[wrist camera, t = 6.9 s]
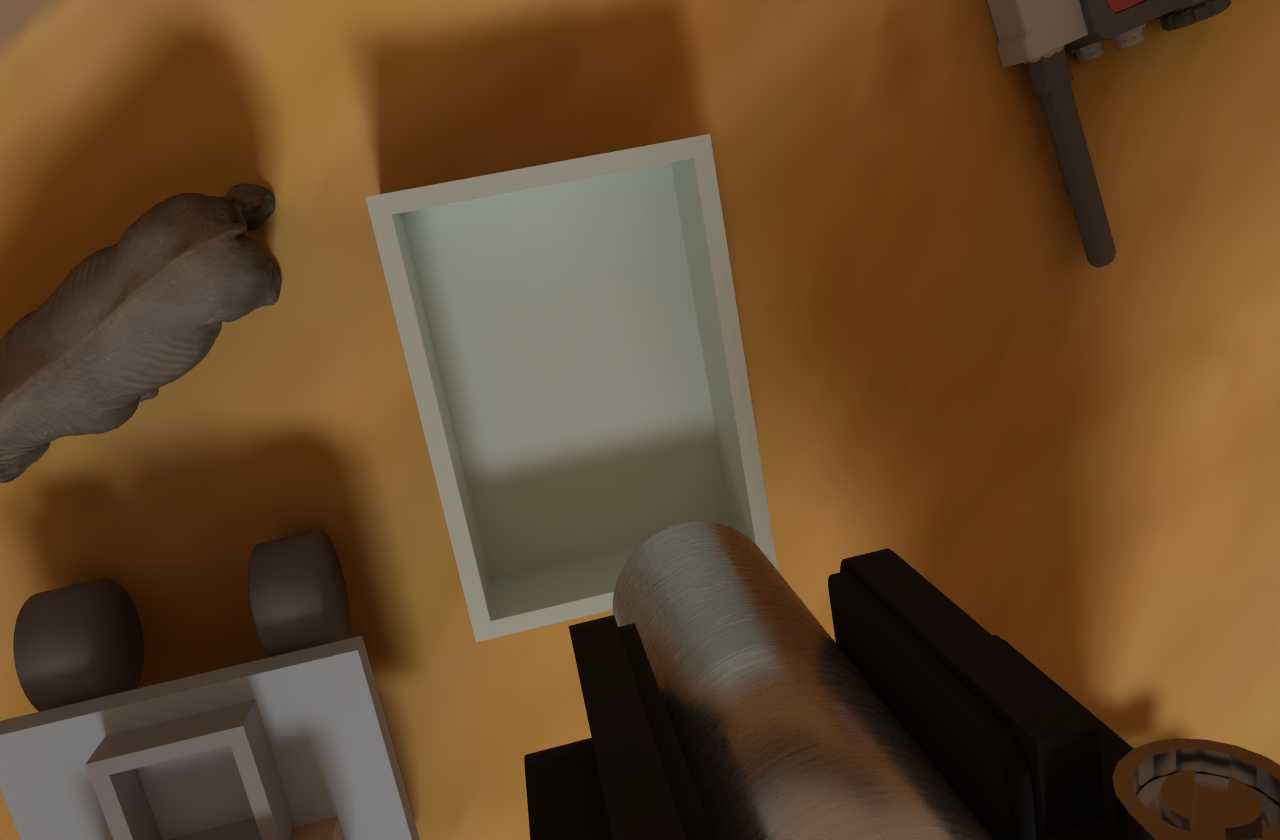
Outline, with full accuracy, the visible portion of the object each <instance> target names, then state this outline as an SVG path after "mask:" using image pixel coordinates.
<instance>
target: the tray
mask: <svg viewBox="0 0 1280 840" xmlns="http://www.w3.org/2000/svg"><path fill="white" fill-rule="evenodd" d="M365 198H366V202H367V206H368V210H369V214H370V218H371V222H372V226H373V230H374V234H375V238H376V242H377V246H378V250H379V254H380V258H381V262H382V266H383V270H384V274H385V278H386V282H387V286H388V290H389V294H390V298H391V302H392V306H393V310H394V314H395V318H396V322H397V326H398V330H399V334H400V338H401V342H402V346H403V350H404V354H405V358H406V363H407V367H408V371H409V375H410V379H411V383H412V387H413V391H414V395H415V399H416V403H417V407H418V411H419V415H420V419H421V423H422V427H423V431H424V435H425V439H426V443H427V447H428V451H429V455H430V459H431V463H432V467H433V471H434V475H435V479H436V483H437V487H438V491H439V495H440V499H441V503H442V507H443V511H444V515H445V519H446V523H447V527H448V531H449V535H450V539H451V543H452V547H453V551H454V555H455V559H456V563H457V568H458V572H459V576H460V580H461V584H462V588H463V592H464V596H465V600H466V604H467V608H468V612H469V616H470V620H471V624H472V628H473V632H474V636H475V640H476V642H480V641H484V640H488V639H492V638H496V637H500V636H505V635H509V634H513V633H517V632H521V631H525V630H530V629H534V628H538V627H542V626H546V625H550V624H554V623H559V622H563V621H567V620H571V619H575V618H579V617H584V616H588V615H592V614H596V613H600V612H604V611H608V610H613V596H614V589H615V586H616V582H617V579H618V577H619V574H620V572H621V570H622V568H623V567H624V565H625V563H626V562H627V560H628V559H629V557H630V556H631V555H632V554H633V552H634V551H635V550H636V549H637V548H638V547H639V546H640V545H641V544H642V543H644V542H645V541H646V540H648V539H649V538H650V537H652V536H653V535H655V534H657V533H659V532H660V531H662V530H665V529H667V528H669V527H672V526H675V525H679V524H683V523H689V522H714V523H718V524H723V525H726V526H729V527H731V528H734V529H736V530H738V531H740V532H741V533H743V534H744V535H746V536H747V537H749V538H750V539H751V540H752V541H753V542H754V543H755V544H756V545H757V546H758V547H759V548H760V549H761V551H762V552H763V553H764V554H765V556H766V557H767V558H768V559H769V561H770V562H771V563H772V564H773V566H774V567H775V568H776V569H777V570H778V568H777V562H776V555H775V549H774V543H773V536H772V530H771V523H770V517H769V510H768V504H767V498H766V491H765V485H764V478H763V472H762V465H761V459H760V452H759V446H758V440H757V433H756V427H755V420H754V414H753V407H752V401H751V395H750V388H749V382H748V375H747V369H746V362H745V356H744V349H743V343H742V337H741V330H740V324H739V317H738V311H737V304H736V298H735V291H734V285H733V279H732V272H731V266H730V259H729V253H728V246H727V240H726V234H725V227H724V221H723V214H722V208H721V201H720V195H719V188H718V182H717V176H716V169H715V163H714V156H713V150H712V143H711V137H710V134H707V135H701V136H696V137H690V138H685V139H679V140H674V141H669V142H663V143H658V144H652V145H647V146H641V147H636V148H630V149H625V150H619V151H614V152H609V153H603V154H598V155H592V156H587V157H581V158H576V159H570V160H565V161H559V162H554V163H549V164H543V165H538V166H532V167H527V168H521V169H516V170H510V171H505V172H500V173H494V174H489V175H483V176H478V177H472V178H467V179H461V180H456V181H450V182H445V183H440V184H434V185H429V186H423V187H418V188H412V189H407V190H401V191H396V192H391V193H385V194H380V195H374V196H369V197H365Z"/></svg>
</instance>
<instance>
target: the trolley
mask: <svg viewBox="0 0 1280 840" xmlns="http://www.w3.org/2000/svg"><path fill="white" fill-rule="evenodd" d="M248 581H249V595H250V602H251V608H252V613H253V618H254V622H255V625H256V629H257V632H258V635H259V638H260V640H261V643H262V645H263V647H264V649H265V651H266V652H267V654H268V655H269V658H265V659H261V660H256V661H252V662H248V663H244V664H240V665H235V666H231V667H227V668H223V669H218V670H214V671H210V672H206V673H201V674H197V675H193V676H189V677H185V678H180V679H176V680H172V681H168V682H163V683H159V684H155V685H151V686H147V687H142V688H138V689H137V687H138V685H139V682H140V679H141V675H142V670H143V660H144V648H143V637H142V631H141V626H140V622H139V618H138V615H137V612H136V610H135V607H134V605H133V603H132V601H131V599H130V597H129V595H128V594H127V592H126V591H125V590H124V589H123V587H122V586H121V585H120V584H118V583H117V582H116V581H114V580H111V579H107V578H105V579H99V580H95V581H91V582H86V583H82V584H77V585H73V586H68V587H64V588H59V589H55V590H50V591H46V592H41V593H37V594H35V595H33V596H31V597H30V598H29V599H28V600H27V601H26V602H25V603H24V605H23V606H22V608H21V610H20V612H19V615H18V617H17V621H16V625H15V631H14V642H13V645H14V660H15V666H16V671H17V675H18V678H19V681H20V684H21V686H22V689H23V691H24V693H25V695H26V697H27V698H28V700H29V701H30V703H31V704H32V705H33V706H34V707H35V708H36V709H37V710H38V711H39V712H37V713H32V714H28V715H24V716H20V717H15V718H11V719H7V720H3V721H0V789H1V792H2V794H3V797H4V799H5V802H6V804H7V807H8V809H9V811H10V814H11V816H12V819H13V821H14V824H15V826H16V829H17V831H18V833H19V836H20V838H21V840H420V839H419V836H418V832H417V828H416V825H415V821H414V818H413V814H412V811H411V807H410V804H409V800H408V797H407V793H406V790H405V786H404V782H403V779H402V775H401V772H400V768H399V765H398V761H397V758H396V754H395V751H394V747H393V743H392V740H391V736H390V733H389V729H388V726H387V722H386V719H385V715H384V712H383V708H382V704H381V701H380V697H379V694H378V690H377V687H376V683H375V680H374V676H373V673H372V669H371V666H370V662H369V658H368V655H367V651H366V648H365V644H364V641H363V637H362V636H358V637H354V638H349V607H348V598H347V592H346V586H345V581H344V577H343V573H342V569H341V565H340V562H339V559H338V556H337V553H336V551H335V548H334V546H333V544H332V542H331V540H330V538H329V537H328V535H327V534H326V533H325V532H324V531H322V530H320V531H315V532H311V533H306V534H302V535H297V536H293V537H288V538H284V539H279V540H275V541H270V542H266V543H261V544H258V545H256V546H255V547H254V549H253V551H252V553H251V557H250V562H249V573H248ZM348 638H349V639H348Z"/></svg>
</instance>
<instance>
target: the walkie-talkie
mask: <svg viewBox="0 0 1280 840" xmlns="http://www.w3.org/2000/svg"><path fill="white" fill-rule="evenodd" d="M987 2H988V5H989V9H990V12H991V15H992V19H993V22H994V26H995V29H996V33H997V36H998V40H999V41H998V45H997V51H998V54H999V58H1000V61H1001V64H1002V67H1003V68H1005V67H1008V66H1012V65H1016V64H1020V63H1023V62H1024V64H1025V67H1026V71H1027V74H1028V78H1029V81H1030V85H1031V88H1032V92H1033V94H1034V95H1036V96H1039V98H1040V101H1041V105H1042V109H1043V112H1044V116H1045V119H1046V123H1047V126H1048V130H1049V134H1050V137H1051V141H1052V144H1053V148H1054V151H1055V155H1056V158H1057V162H1058V166H1059V169H1060V173H1061V176H1062V180H1063V183H1064V187H1065V191H1066V194H1067V197H1068V198H1069V199H1070V201H1071V204H1072V208H1073V211H1074V214H1075V218H1076V221H1077V225H1078V228H1079V232H1080V235H1081V238H1082V242H1083V245H1084V249H1085V252H1086V255H1087V259H1088V262H1089V263H1090V264H1091V265H1092V266H1094V267H1103V266H1106V265H1108V264H1109V263H1111V262H1112V261H1113V259H1114V257H1115V253H1116V250H1115V246H1114V242H1113V239H1112V235H1111V231H1110V228H1109V224H1108V221H1107V217H1106V213H1105V210H1104V206H1103V202H1102V199H1101V195H1100V192H1099V188H1098V184H1097V181H1096V177H1095V173H1094V170H1093V166H1092V162H1091V159H1090V155H1089V152H1088V148H1087V144H1086V141H1085V137H1084V133H1083V130H1082V126H1081V123H1080V119H1079V115H1078V112H1077V108H1076V104H1075V101H1074V97H1073V93H1072V90H1071V86H1070V83H1071V82H1072V80H1073V78H1072V74H1071V71H1070V67H1069V64H1068V60H1067V57H1066V53H1065V51H1067V50H1071V49H1073V50H1071V51H1070V52H1071V54H1074V53H1076V55H1077V58H1078V62H1079V64H1080V63H1083V62H1086V61H1089V60H1092V59H1094V58H1097V57H1099V56H1101V55H1103V54H1104V52H1103V49H1102V44H1101V43H1102V42H1104V41H1105V40H1107V39H1110V40H1113V39H1115V41H1116V44H1117V48H1118V50H1121V49H1124V48H1127V47H1130V46H1133V45H1135V44H1137V43H1139V42H1141V41H1143V40H1144V37H1143V32H1142V28H1144V27H1145V26H1146V23H1147V22H1149V21H1151V20H1153V19H1156V18H1158V17H1160V16H1162V15H1164V14H1165V15H1164V16H1163V17H1162V18H1161V20H1160V21H1161V25H1162V29H1164V30H1167V31H1171V30H1175V29H1179V28H1182V27H1186V26H1188V25H1191V24H1193V23H1196V22H1199V21H1201V20H1204V19H1207V18H1209V17H1212V16H1214V15H1216V14H1219V13H1220V12H1222V11H1224V10H1226V9H1227V8H1228V6H1229V5H1230V4H1231V0H987Z"/></svg>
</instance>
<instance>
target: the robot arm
mask: <svg viewBox="0 0 1280 840" xmlns="http://www.w3.org/2000/svg"><path fill="white" fill-rule="evenodd" d="M828 588H829V596H830V603H831V611H832V618H833V625H834V632H835V639H836V644H837V645H838V646H839V648H840V649H841V650H842V651H843V653H844V654H845V655H846V656H847V658H848V659H849V660H850V661H851V663H852V664H853V665H854V666H855V668H856V669H857V670H858V671H859V672H860V674H861V675H862V676H863V677H864V679H865V680H866V681H867V682H868V684H869V685H870V686H871V687H872V689H873V690H874V691H875V692H876V694H877V695H878V696H879V697H880V699H881V700H882V701H883V702H884V704H885V705H886V706H887V707H888V709H889V710H890V711H891V712H892V713H893V715H894V716H895V717H896V718H897V720H898V721H899V722H900V723H901V725H902V726H903V727H904V728H905V730H906V731H907V732H908V733H909V735H910V736H911V737H912V738H913V740H914V741H915V742H916V743H917V745H918V746H919V747H920V748H921V750H922V751H923V752H924V753H925V755H926V756H927V757H928V758H929V759H930V761H931V762H932V763H933V764H934V766H935V767H936V768H937V769H938V771H939V772H940V773H941V774H942V776H943V777H944V778H945V779H946V781H947V782H948V783H949V784H950V786H951V787H952V788H953V789H954V791H955V792H956V793H957V794H958V796H959V797H960V798H961V799H962V800H963V802H964V803H965V804H966V805H967V807H968V808H969V809H970V810H971V812H972V813H973V814H974V815H975V817H976V818H977V819H978V820H979V822H980V823H981V824H982V825H983V827H984V828H985V829H986V830H987V832H988V833H989V834H990V835H991V837H992V838H993V839H994V840H1280V765H1279V764H1277V763H1276V762H1274V761H1272V760H1271V759H1269V758H1267V757H1265V756H1263V755H1260V754H1257V753H1255V752H1252V751H1249V750H1247V749H1244V748H1241V747H1239V746H1235V745H1230V744H1225V743H1221V742H1216V741H1211V740H1201V739H1179V738H1178V739H1171V740H1163V741H1156V742H1151V743H1149V744H1146V745H1143V746H1141V747H1138V748H1136V749H1133V748H1132V747H1131V746H1130V745H1129V744H1128V743H1126V742H1125V741H1124V740H1123V739H1122V738H1120V737H1119V736H1118V735H1117V734H1116V733H1114V732H1113V731H1112V730H1111V729H1110V728H1108V727H1107V726H1106V725H1105V724H1104V723H1102V722H1101V721H1100V720H1099V719H1098V718H1097V717H1095V716H1094V715H1093V714H1092V713H1091V712H1089V711H1088V710H1087V709H1086V708H1085V707H1083V706H1082V705H1081V704H1080V703H1079V702H1077V701H1076V700H1075V699H1074V698H1073V697H1072V696H1070V695H1069V694H1068V693H1067V692H1066V691H1064V690H1063V689H1062V688H1061V687H1060V686H1058V685H1057V684H1056V683H1055V682H1054V681H1052V680H1051V679H1050V678H1049V677H1048V676H1046V675H1045V674H1044V673H1043V672H1042V671H1041V670H1039V669H1038V668H1037V667H1036V666H1035V665H1033V664H1032V663H1031V662H1030V661H1029V660H1027V659H1026V658H1025V657H1024V656H1023V655H1021V654H1020V653H1019V652H1018V651H1017V650H1015V649H1014V648H1013V647H1012V646H1011V645H1010V644H1008V643H1007V642H1006V641H1005V640H1003V639H1001V638H1000V637H998V636H996V635H991V634H990V633H989V632H987V631H986V630H985V629H984V628H983V627H981V626H980V625H979V624H978V623H977V622H976V621H974V620H973V619H972V618H971V617H970V616H969V615H967V614H966V613H965V612H964V611H963V610H961V609H960V608H959V607H958V606H957V605H956V604H954V603H953V602H952V601H951V600H950V599H949V598H947V597H946V596H945V595H944V594H943V593H941V592H940V591H939V590H938V589H937V588H936V587H934V586H933V585H932V584H931V583H930V582H929V581H927V580H926V579H925V578H924V577H923V576H921V575H920V574H919V573H918V572H917V571H916V570H914V569H913V568H912V567H911V566H910V565H909V564H907V563H906V562H905V561H904V560H903V559H901V558H900V557H899V556H898V555H897V554H896V553H894V552H893V551H892V550H890V549H884V550H879V551H875V552H871V553H867V554H863V555H859V556H855V557H851V558H846V559H843V560H842V562H841V568H840V573H836V574H832V575H830V576H829V578H828ZM569 630H570V635H571V640H572V644H573V649H574V654H575V659H576V664H577V668H578V673H579V678H580V683H581V688H582V692H583V697H584V702H585V707H586V712H587V716H588V721H589V726H590V731H591V736H592V738H589V739H585V740H581V741H577V742H573V743H570V744H566V745H562V746H558V747H554V748H550V749H546V750H542V751H539V752H535V753H531V754H527V755H525V757H524V759H525V776H526V789H527V801H528V814H529V827H530V840H712V837H711V833H710V829H709V826H708V823H707V819H706V816H705V813H704V810H703V807H702V805H701V802H700V799H699V797H698V794H697V791H696V788H695V786H694V783H693V780H692V777H691V775H690V772H689V769H688V767H687V764H686V761H685V758H684V756H683V753H682V750H681V747H680V745H679V742H678V739H677V737H676V734H675V731H674V728H673V726H672V723H671V720H670V717H669V715H668V712H667V709H666V707H665V704H664V701H663V698H662V696H661V693H660V690H659V687H658V685H657V682H656V679H655V677H654V674H653V671H652V668H651V666H650V663H649V660H648V657H647V655H646V652H645V649H644V647H643V644H642V641H641V638H640V636H639V633H638V630H637V627H636V625H635V623H632V624H628V625H624V626H620V627H618V626H617V623H616V619H615V617H614V615H612V616H608V617H604V618H600V619H596V620H592V621H588V622H583V623H579V624H575V625H571V626H569Z"/></svg>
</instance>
